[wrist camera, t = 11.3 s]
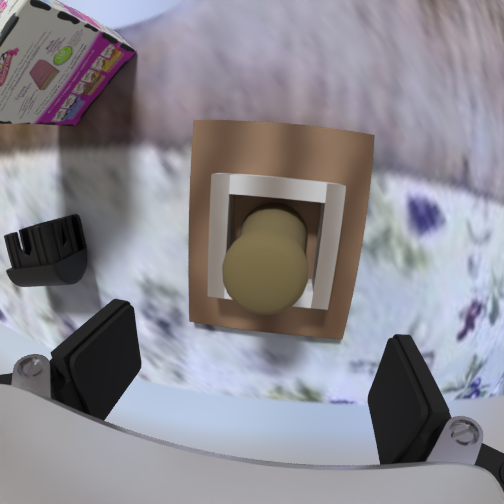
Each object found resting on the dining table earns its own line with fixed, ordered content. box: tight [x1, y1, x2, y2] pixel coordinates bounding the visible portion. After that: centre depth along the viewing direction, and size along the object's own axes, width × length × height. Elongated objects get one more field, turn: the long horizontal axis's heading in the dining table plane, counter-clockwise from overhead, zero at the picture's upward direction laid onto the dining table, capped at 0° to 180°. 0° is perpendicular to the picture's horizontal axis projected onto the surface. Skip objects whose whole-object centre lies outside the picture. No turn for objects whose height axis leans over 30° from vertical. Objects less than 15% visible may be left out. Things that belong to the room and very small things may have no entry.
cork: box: [222, 203, 309, 315], centre depth 22 cm, size 6×6×11 cm
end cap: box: [4, 214, 87, 287], centre depth 29 cm, size 10×7×7 cm
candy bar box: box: [0, 0, 136, 126], centre depth 18 cm, size 11×5×16 cm, turn 132°
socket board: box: [189, 120, 374, 339], centre depth 26 cm, size 16×20×4 cm
